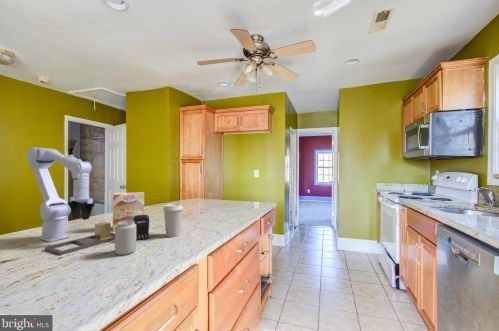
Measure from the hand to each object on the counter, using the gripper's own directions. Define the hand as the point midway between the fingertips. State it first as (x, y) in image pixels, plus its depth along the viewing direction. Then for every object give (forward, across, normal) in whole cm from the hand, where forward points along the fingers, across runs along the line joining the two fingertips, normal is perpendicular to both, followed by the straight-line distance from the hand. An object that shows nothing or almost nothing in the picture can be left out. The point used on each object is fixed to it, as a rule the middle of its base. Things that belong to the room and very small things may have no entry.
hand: (81, 218), depth 104 cm
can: (+11, +30, +1) cm, 32 cm away
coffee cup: (+11, +29, +27) cm, 41 cm away
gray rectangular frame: (+10, +5, 0) cm, 11 cm away
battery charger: (+11, +21, +15) cm, 28 cm away
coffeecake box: (+11, -2, +25) cm, 27 cm away
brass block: (+10, +5, +7) cm, 13 cm away
